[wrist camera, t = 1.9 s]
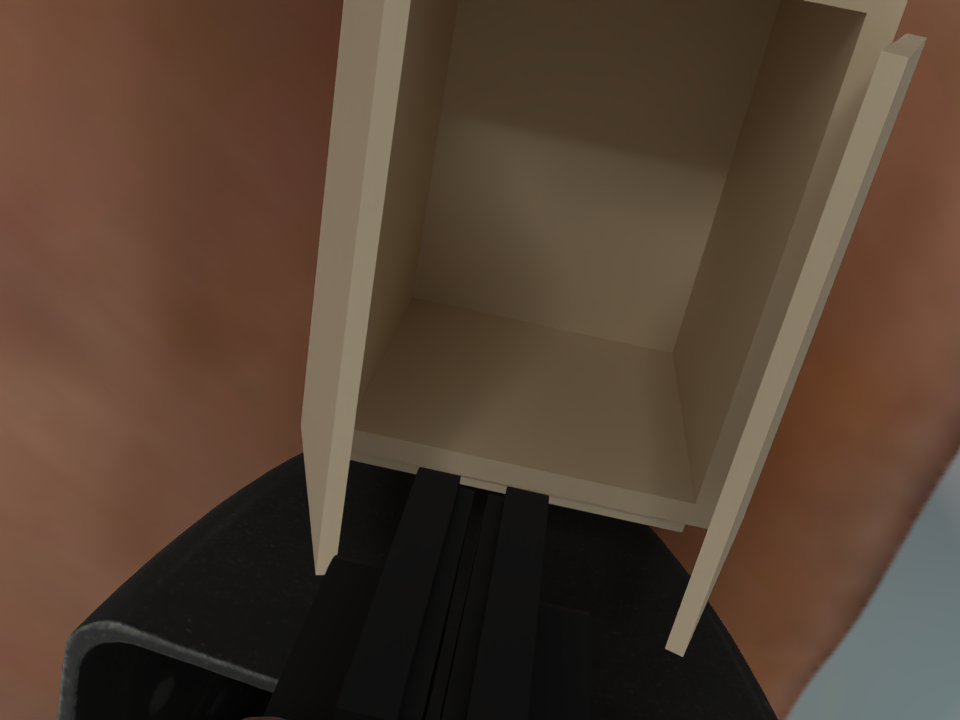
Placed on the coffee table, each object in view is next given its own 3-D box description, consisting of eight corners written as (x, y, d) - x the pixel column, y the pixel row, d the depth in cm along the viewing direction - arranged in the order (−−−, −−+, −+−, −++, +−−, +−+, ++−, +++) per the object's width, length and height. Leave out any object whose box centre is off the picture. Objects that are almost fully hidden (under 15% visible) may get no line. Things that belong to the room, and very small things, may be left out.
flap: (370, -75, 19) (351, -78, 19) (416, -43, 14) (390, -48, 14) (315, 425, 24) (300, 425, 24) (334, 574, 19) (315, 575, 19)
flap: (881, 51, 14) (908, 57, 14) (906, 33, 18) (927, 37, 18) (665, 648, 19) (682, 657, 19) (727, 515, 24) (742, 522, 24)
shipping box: (457, -131, 28) (387, -149, 19) (819, -59, 27) (923, -43, 18) (392, 316, 34) (318, 459, 25) (681, 378, 34) (708, 545, 25)
